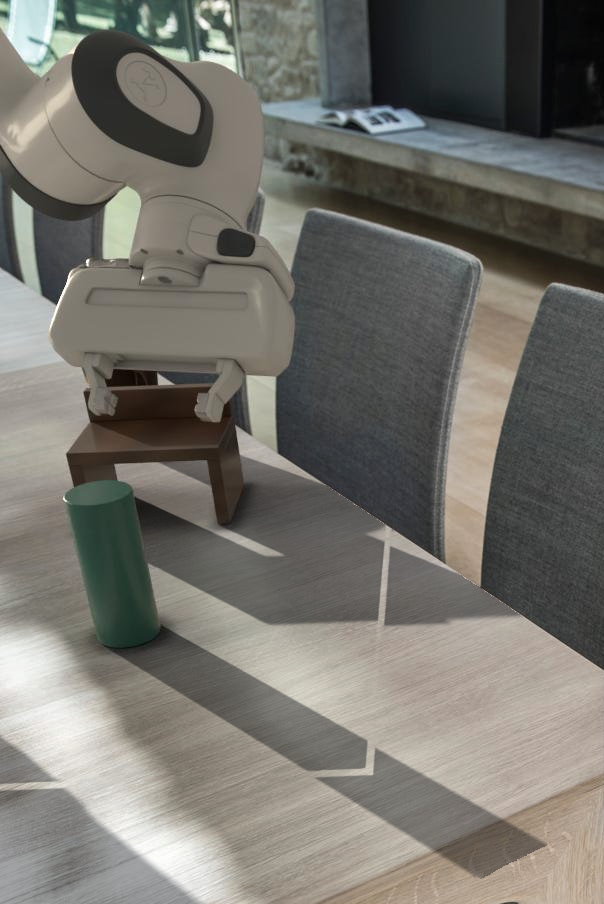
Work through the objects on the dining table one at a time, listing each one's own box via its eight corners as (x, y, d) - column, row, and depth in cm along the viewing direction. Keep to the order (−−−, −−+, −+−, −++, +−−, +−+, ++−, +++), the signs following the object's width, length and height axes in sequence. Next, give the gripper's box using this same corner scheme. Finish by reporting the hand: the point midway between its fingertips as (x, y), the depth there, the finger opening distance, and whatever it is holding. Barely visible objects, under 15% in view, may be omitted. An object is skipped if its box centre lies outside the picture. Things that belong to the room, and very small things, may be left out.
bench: (83, 529, 110) (58, 421, 104) (108, 489, 118) (85, 387, 113) (229, 524, 110) (212, 415, 104) (244, 484, 119) (229, 382, 113)
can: (90, 649, 90) (55, 506, 84) (105, 619, 95) (73, 481, 88) (154, 646, 91) (123, 504, 84) (166, 616, 95) (138, 478, 88)
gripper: (54, 235, 94) (16, 390, 92) (287, 240, 90) (254, 403, 87) (93, 279, 100) (59, 426, 98) (313, 286, 96) (283, 440, 93)
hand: (153, 415), depth 92 cm, fingers open, 8 cm apart
